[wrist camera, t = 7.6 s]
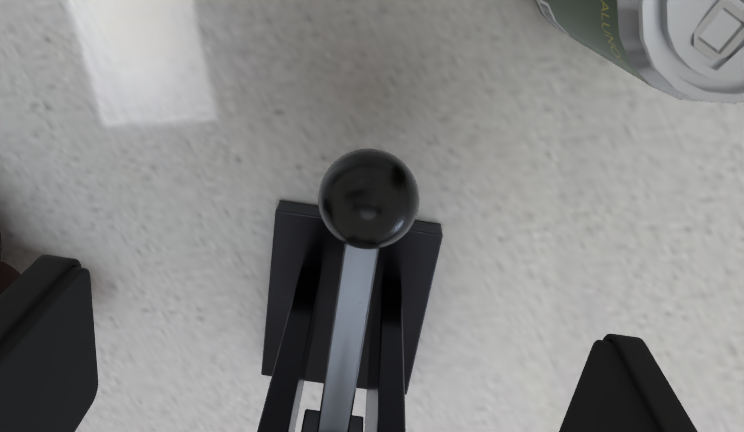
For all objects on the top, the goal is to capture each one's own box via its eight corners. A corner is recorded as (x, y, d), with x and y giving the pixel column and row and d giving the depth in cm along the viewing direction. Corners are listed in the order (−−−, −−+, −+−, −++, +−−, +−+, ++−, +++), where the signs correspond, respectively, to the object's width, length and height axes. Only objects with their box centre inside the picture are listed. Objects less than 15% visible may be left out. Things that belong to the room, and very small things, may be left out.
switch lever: (329, 135, 20) (320, 150, 17) (422, 149, 20) (431, 166, 17) (285, 462, 24) (271, 524, 20) (365, 473, 24) (364, 536, 21)
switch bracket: (280, 200, 29) (207, 376, 18) (441, 223, 30) (472, 412, 18) (265, 360, 34) (198, 586, 22) (406, 380, 34) (413, 613, 22)
